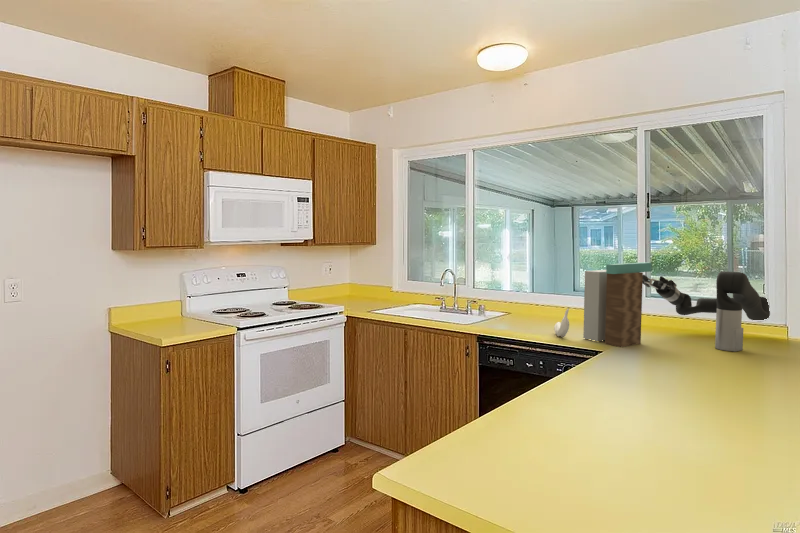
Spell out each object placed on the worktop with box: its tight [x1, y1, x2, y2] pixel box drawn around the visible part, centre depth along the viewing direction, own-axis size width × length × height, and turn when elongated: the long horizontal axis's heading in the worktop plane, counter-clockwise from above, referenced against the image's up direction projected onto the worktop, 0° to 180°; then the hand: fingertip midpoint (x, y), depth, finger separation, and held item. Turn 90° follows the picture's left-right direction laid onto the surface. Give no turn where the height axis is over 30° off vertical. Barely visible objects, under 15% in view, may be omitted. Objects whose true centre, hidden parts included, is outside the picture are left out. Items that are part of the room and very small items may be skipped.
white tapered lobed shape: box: [553, 308, 570, 338], centre depth 252 cm, size 5×19×15 cm, turn 179°
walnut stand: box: [604, 272, 644, 348], centre depth 235 cm, size 14×8×32 cm, turn 121°
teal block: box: [605, 262, 652, 274], centre depth 235 cm, size 26×4×4 cm, turn 121°
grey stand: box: [582, 269, 607, 342], centre depth 245 cm, size 14×8×32 cm, turn 121°
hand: (651, 277), depth 243 cm, fingers open, 8 cm apart
